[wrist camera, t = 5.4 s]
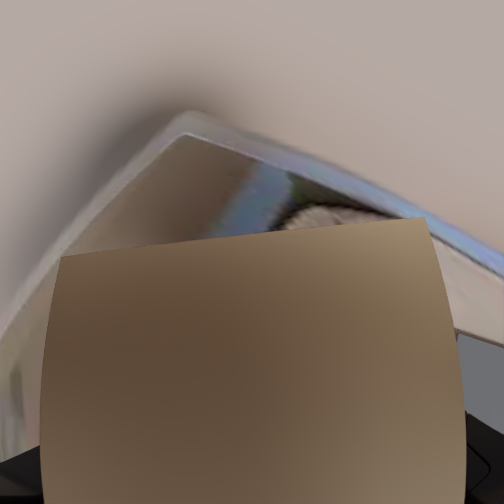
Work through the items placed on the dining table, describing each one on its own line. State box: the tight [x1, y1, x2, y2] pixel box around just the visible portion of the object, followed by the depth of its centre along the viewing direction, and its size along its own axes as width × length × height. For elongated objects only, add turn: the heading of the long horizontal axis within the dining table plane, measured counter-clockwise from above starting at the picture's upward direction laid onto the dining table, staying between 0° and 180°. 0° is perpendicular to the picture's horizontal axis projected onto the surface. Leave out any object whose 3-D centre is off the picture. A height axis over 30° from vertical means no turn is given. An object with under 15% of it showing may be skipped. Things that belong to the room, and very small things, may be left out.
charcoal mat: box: [455, 334, 504, 434], centre depth 14 cm, size 12×12×1 cm
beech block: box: [40, 217, 466, 504], centre depth 8 cm, size 5×5×12 cm
